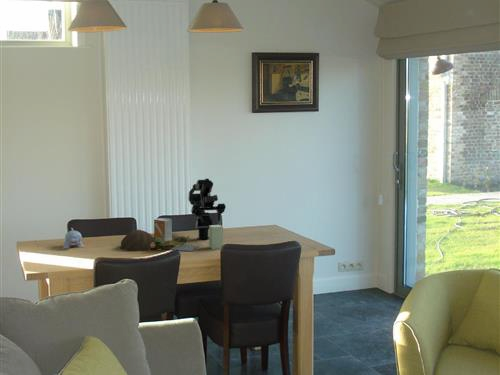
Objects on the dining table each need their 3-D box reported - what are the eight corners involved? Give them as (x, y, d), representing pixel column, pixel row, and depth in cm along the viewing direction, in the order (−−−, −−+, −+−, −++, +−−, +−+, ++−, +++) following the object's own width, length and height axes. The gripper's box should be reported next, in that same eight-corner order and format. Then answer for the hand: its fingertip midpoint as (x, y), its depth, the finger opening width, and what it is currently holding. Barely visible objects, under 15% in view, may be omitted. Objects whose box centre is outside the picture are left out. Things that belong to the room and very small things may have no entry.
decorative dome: (116, 245, 404) (116, 227, 403) (151, 243, 412) (151, 225, 410) (123, 252, 387) (123, 234, 385) (160, 250, 394) (160, 231, 393)
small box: (153, 242, 414) (153, 219, 412) (161, 240, 419) (161, 217, 417) (164, 243, 409) (164, 220, 408) (172, 241, 415) (172, 219, 413)
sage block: (209, 246, 402) (209, 225, 400) (219, 246, 404) (219, 224, 402) (212, 249, 396) (212, 227, 395) (222, 248, 398) (222, 226, 397)
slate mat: (176, 246, 403) (176, 244, 403) (197, 247, 401) (197, 245, 401) (170, 250, 392) (170, 249, 391) (191, 251, 389) (191, 250, 389)
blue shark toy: (64, 250, 390) (64, 232, 389) (62, 244, 405) (61, 227, 403) (85, 249, 394) (84, 231, 393) (82, 243, 408) (81, 227, 407)
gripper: (192, 190, 405) (197, 213, 396) (224, 189, 411) (230, 212, 402) (189, 202, 414) (193, 225, 405) (220, 200, 420) (226, 223, 411)
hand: (211, 221), depth 406 cm, fingers open, 9 cm apart
